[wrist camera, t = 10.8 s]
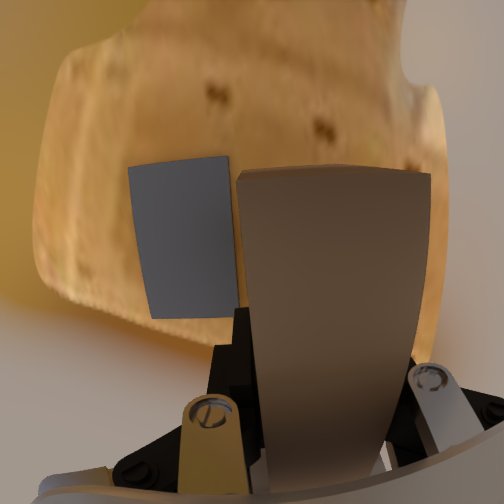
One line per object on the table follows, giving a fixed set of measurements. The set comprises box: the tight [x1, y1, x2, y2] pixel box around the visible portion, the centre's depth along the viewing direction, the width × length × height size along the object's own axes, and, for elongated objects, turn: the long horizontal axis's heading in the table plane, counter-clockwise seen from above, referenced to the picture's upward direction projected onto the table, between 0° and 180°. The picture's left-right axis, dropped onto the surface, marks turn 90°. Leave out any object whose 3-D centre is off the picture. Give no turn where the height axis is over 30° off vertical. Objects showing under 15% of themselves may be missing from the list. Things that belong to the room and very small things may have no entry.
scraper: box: [236, 164, 431, 494], centre depth 8 cm, size 13×7×6 cm, turn 5°
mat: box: [128, 156, 239, 319], centre depth 27 cm, size 15×9×1 cm, turn 3°
